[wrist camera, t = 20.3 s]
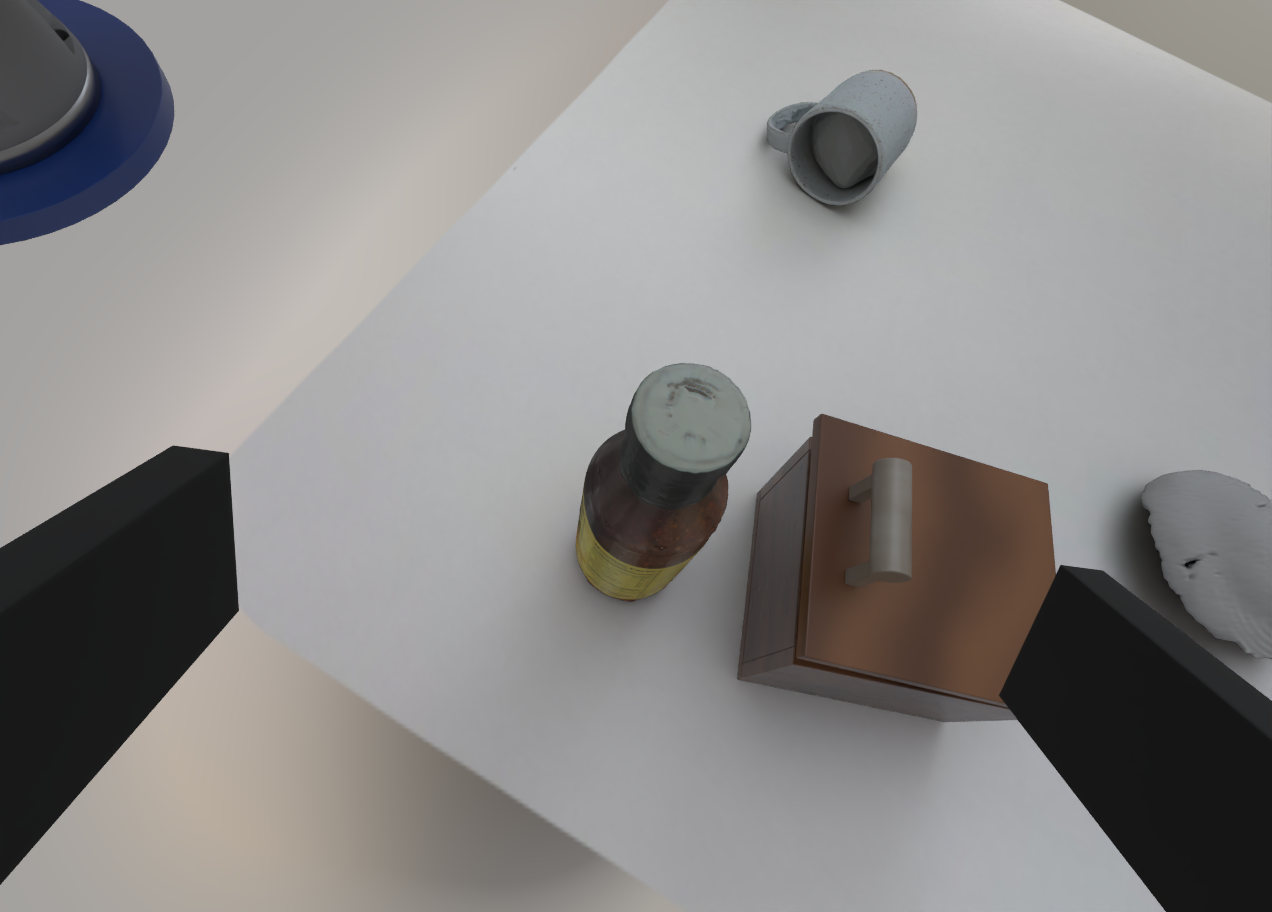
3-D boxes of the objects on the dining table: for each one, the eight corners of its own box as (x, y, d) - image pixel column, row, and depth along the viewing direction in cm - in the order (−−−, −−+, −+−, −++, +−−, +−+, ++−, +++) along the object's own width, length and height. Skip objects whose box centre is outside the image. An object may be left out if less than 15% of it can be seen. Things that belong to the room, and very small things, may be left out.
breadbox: (736, 679, 38) (792, 664, 30) (757, 492, 42) (810, 436, 34) (945, 722, 38) (1054, 718, 30) (942, 534, 43) (1036, 488, 35)
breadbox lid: (795, 658, 28) (853, 648, 24) (812, 419, 33) (864, 378, 29) (1054, 718, 30) (1146, 718, 26) (1035, 488, 35) (1111, 458, 31)
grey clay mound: (1236, 559, 49) (1450, 550, 39) (1194, 694, 44) (1425, 721, 34) (1137, 448, 47) (1336, 409, 37) (1083, 576, 42) (1293, 569, 33)
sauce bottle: (628, 484, 41) (704, 289, 23) (697, 558, 40) (835, 413, 22) (547, 551, 39) (561, 392, 21) (618, 632, 38) (699, 538, 19)
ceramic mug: (895, 169, 56) (945, 86, 49) (851, 224, 53) (899, 144, 46) (790, 105, 57) (825, 17, 50) (742, 155, 54) (772, 68, 47)
